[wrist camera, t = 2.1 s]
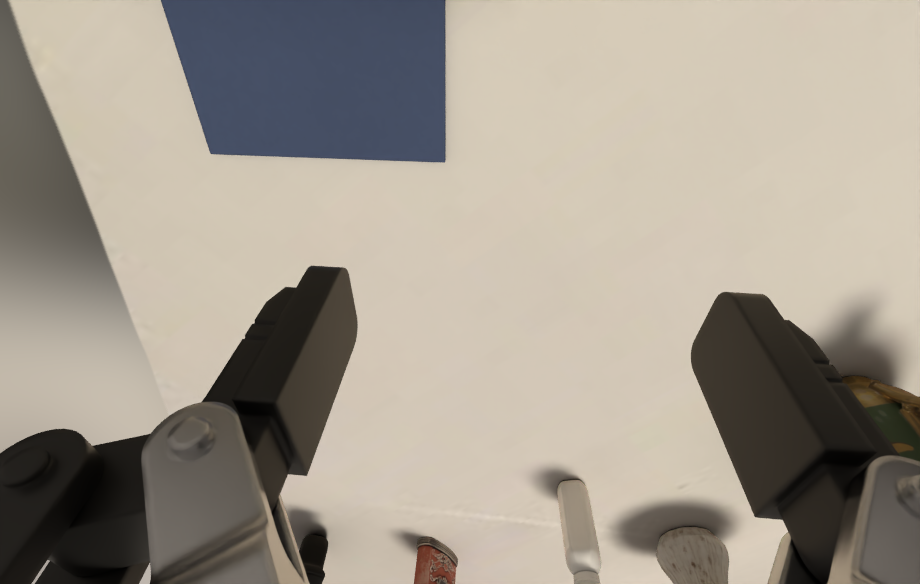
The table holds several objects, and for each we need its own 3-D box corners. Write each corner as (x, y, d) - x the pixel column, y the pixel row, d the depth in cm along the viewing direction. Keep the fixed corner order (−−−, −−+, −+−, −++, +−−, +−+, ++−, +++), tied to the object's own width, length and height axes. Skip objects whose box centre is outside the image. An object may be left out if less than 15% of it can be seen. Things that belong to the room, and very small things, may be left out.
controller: (294, 550, 63) (266, 635, 55) (309, 511, 56) (279, 603, 48) (324, 556, 63) (300, 642, 55) (342, 519, 56) (318, 610, 48)
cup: (995, 364, 35) (1146, 481, 27) (812, 488, 47) (880, 597, 39) (859, 326, 34) (978, 439, 26) (705, 465, 45) (753, 572, 37)
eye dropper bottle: (545, 500, 51) (558, 623, 42) (564, 475, 48) (583, 602, 38) (580, 506, 52) (601, 630, 42) (601, 482, 48) (629, 610, 39)
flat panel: (134, -96, 21) (128, -97, 21) (445, -90, 21) (444, -91, 20) (213, 152, 28) (210, 154, 28) (445, 160, 28) (445, 162, 27)
